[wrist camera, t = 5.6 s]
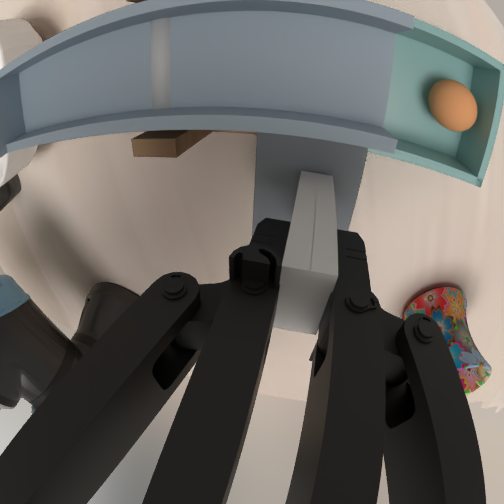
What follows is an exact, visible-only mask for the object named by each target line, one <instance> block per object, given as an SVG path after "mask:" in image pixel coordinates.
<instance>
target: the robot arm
mask: <svg viewBox="0 0 504 504" xmlns="http://www.w3.org/2000/svg"><path fill="white" fill-rule="evenodd" d="M365 253H366V250H365V244H364V241H363V240H362V238H361V237H360V236H359V234H358V233H355V232H350V231H345V230H339V229H337V222H336V206H335V192H334V181H333V176H330V175H325V174H319V173H313V172H307V171H301V174H300V180H299V185H298V190H297V195H296V200H295V205H294V210H293V215H292V220H291V222H289V221H283V220H277V219H271V218H265V219H263V220H262V221H261V222H260V223H258V224H257V226H256V229H255V232H254V235H253V237H252V239H251V242H250V244H249V245H247V246H242V247H240V248H238V249H236V250H234V251H233V252H232V254H231V255H230V256H229V275H230V279H229V280H227V281H225V282H222V283H215V284H198V282H197V280H196V279H195V278H194V277H193V276H191V275H190V274H187V273H183V272H172V273H169V274H166V275H163V276H162V277H160V278H159V279H157V280H156V281H155V282H154V283H153V284H152V285H151V286H150V287H149V288H148V289H147V290H146V291H145V292H144V293H143V294H142V295H141V296H140V297H138V296H137V295H135V294H134V293H132V292H130V291H128V290H126V289H124V288H122V287H120V286H117V285H114V284H110V283H99V284H97V285H95V286H94V287H93V289H92V290H91V291H90V293H89V294H88V296H87V298H86V301H85V306H84V309H83V311H82V315H81V318H80V322H79V325H78V329H77V331H76V333H75V334H74V336H73V337H72V339H71V340H69V338H67V337H66V336H65V334H63V332H61V331H60V330H59V329H58V328H57V327H56V326H55V324H53V322H52V321H51V320H50V319H49V318H48V317H47V316H46V315H45V314H44V313H43V312H42V311H41V310H40V308H39V307H38V306H37V305H36V304H35V303H34V302H33V301H32V299H31V298H30V296H29V294H27V293H25V292H24V291H23V289H22V288H21V287H20V286H19V285H18V284H17V283H16V281H15V280H14V279H13V278H12V277H11V276H9V275H0V409H1V408H5V409H13V408H14V407H15V406H16V405H17V403H18V402H19V400H20V398H24V399H25V400H27V401H28V402H29V403H31V404H32V415H31V417H30V418H29V419H28V420H27V422H26V423H25V424H24V425H23V427H22V428H21V429H20V431H19V432H18V433H17V434H16V436H15V437H14V438H13V440H12V441H11V442H10V444H9V445H8V446H7V448H6V449H5V450H4V452H3V453H2V454H1V456H0V504H87V503H88V501H89V500H90V499H91V498H92V497H93V495H94V494H95V493H96V492H97V490H98V489H99V488H100V487H101V486H102V484H103V483H104V482H105V481H106V479H107V478H108V477H109V475H110V474H111V473H112V472H113V470H114V469H115V468H116V467H117V465H118V464H119V463H120V462H121V460H122V459H123V458H124V457H125V455H126V454H127V453H128V451H129V450H130V449H131V448H132V446H133V445H134V444H135V442H136V441H137V440H138V439H139V437H140V436H141V435H142V433H143V432H144V431H145V429H146V428H147V427H148V426H149V424H150V423H151V422H152V420H153V419H154V417H155V416H156V415H157V414H158V412H159V411H160V410H161V408H162V407H163V406H164V404H165V403H166V402H167V400H168V399H169V398H170V396H171V395H172V394H173V392H174V391H175V390H176V388H177V387H178V386H179V384H180V383H181V382H182V380H183V379H184V378H185V376H186V375H187V374H188V372H189V371H190V370H191V368H192V367H193V366H194V364H195V363H196V365H195V368H194V370H193V373H192V375H191V378H190V380H189V383H188V385H187V388H186V390H185V393H184V395H183V398H182V401H181V403H180V406H179V408H178V411H177V413H176V416H175V419H174V421H173V424H172V426H171V429H170V432H169V434H168V437H167V439H166V442H165V444H164V447H163V450H162V452H161V455H160V458H159V460H158V463H157V465H156V468H155V471H154V473H153V476H152V479H151V482H150V484H149V487H148V489H147V492H146V495H145V497H144V500H143V503H142V504H226V502H227V499H228V496H229V493H230V489H231V486H232V483H233V479H234V476H235V473H236V469H237V466H238V462H239V459H240V455H241V452H242V448H243V445H244V441H245V438H246V434H247V430H248V426H249V423H250V419H251V415H252V412H253V408H254V404H255V400H256V396H257V392H258V388H259V384H260V380H261V376H262V372H263V368H264V364H265V360H266V355H267V351H268V347H269V342H270V337H271V332H272V327H275V328H280V329H286V330H291V331H297V332H303V333H309V334H315V335H316V334H317V331H318V329H319V334H318V340H317V343H316V345H315V347H314V349H313V352H312V354H311V356H310V359H309V361H312V360H313V361H312V369H311V377H310V384H309V390H308V397H307V403H306V409H305V416H304V421H303V427H302V432H301V438H300V443H299V448H298V453H297V457H296V462H295V466H294V471H293V475H292V480H291V484H290V488H289V492H288V496H287V500H286V504H376V503H377V497H378V491H379V484H380V477H381V469H382V458H383V455H384V461H385V469H386V476H387V484H388V494H389V504H486V495H485V483H484V475H483V468H482V461H481V456H480V450H479V445H478V440H477V436H476V431H475V427H474V423H473V419H472V415H471V412H470V408H469V405H468V401H467V398H466V395H465V391H464V388H463V385H462V382H461V379H460V376H459V374H458V371H457V368H456V365H455V363H454V360H453V357H452V355H451V352H450V350H449V347H448V345H447V343H446V340H445V338H444V335H443V333H442V331H441V329H440V327H439V326H438V324H437V322H436V321H434V320H433V319H432V318H431V317H429V316H427V315H425V314H422V313H414V314H412V315H409V317H408V318H407V319H406V320H403V319H401V318H398V317H396V316H394V315H392V314H390V313H388V312H386V311H384V310H383V309H382V308H381V307H380V304H379V301H378V299H377V297H376V296H375V295H374V294H373V293H372V292H371V287H370V279H369V271H368V264H367V257H366V254H365ZM196 361H197V362H196Z"/></svg>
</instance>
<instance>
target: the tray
mask: <svg viewBox="0 0 504 504" xmlns="http://www.w3.org/2000/svg"><path fill="white" fill-rule="evenodd" d="M444 79H451V80H455V81H458V82H460V83H462V84H463V85H464V86H466V87H467V88H468V89H469V90H470V92H471V93H472V95H473V96H474V98H475V101H476V104H477V118H476V121H475V123H474V124H473V125H472V127H470V128H469V129H467V130H465V131H461V132H455V131H451V130H448V129H446V128H445V127H443V126H442V125H440V124H439V123H438V122H437V120H436V119H435V118H434V116H433V115H432V113H431V110H430V107H429V101H428V98H429V92H430V90H431V88H432V87H433V85H434V84H435V83H437V82H438V81H441V80H444ZM503 100H504V64H502V63H501V62H499V61H498V60H496V59H495V58H493V57H492V56H490V55H488V54H487V53H485V52H484V51H482V50H480V49H478V48H477V47H475V46H473V45H471V44H470V43H468V42H466V41H464V40H462V39H460V38H458V37H456V36H454V35H452V34H450V33H448V32H446V31H444V30H442V29H439V28H437V27H435V26H432V25H430V24H428V23H425V22H423V21H420V20H417V19H415V18H414V29H413V30H409V31H404V32H400V33H396V34H395V45H394V56H393V66H392V74H391V82H390V89H389V96H388V102H387V108H386V114H385V119H384V125H383V128H384V129H385V130H386V131H388V132H389V133H390V134H391V135H393V136H394V137H395V138H396V139H397V140H398V141H397V146H396V150H395V154H392V153H388V152H384V151H379V150H375V149H370V148H368V152H370V153H374V154H378V155H382V156H386V157H390V158H394V159H397V160H401V161H405V162H408V163H412V164H415V165H418V166H422V167H425V168H428V169H431V170H434V171H437V172H440V173H443V174H446V175H449V176H452V177H455V178H457V179H460V180H463V181H465V182H468V183H470V184H473V185H475V186H478V187H481V185H482V182H483V179H484V176H485V173H486V170H487V167H488V164H489V160H490V157H491V154H492V150H493V147H494V143H495V139H496V135H497V131H498V126H499V122H500V117H501V112H502V106H503Z"/></svg>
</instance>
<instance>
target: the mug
mask: <svg viewBox="0 0 504 504" xmlns="http://www.w3.org/2000/svg"><path fill="white" fill-rule="evenodd" d="M466 307H467V300H466V296H465V295H464V294H463V292H462V291H460V290H459V289H456V288H453V287H441V288H436V289H433V290H430V291H428V292H426V293H424V294H422V295H420V296H419V297H417V298H416V299H415V300H414V301H413V302H411V304H410V305H409V306H408V307H407V309H406V310H405V312H404V314H403V318H402V319H403V320H406V319H407V318H408V317H409V315H412V314H414V313H422V314H425V315H427V316H429V317H431V318H432V319H433V320H434V321H436V322H437V324H438V326H439V327H440V329H441V331H442V333H443V335H444V338H445V340H446V343H447V345H448V347H449V350H450V352H451V355H452V357H453V360H454V363H455V365H456V368H457V371H458V374H459V376H460V379H461V382H462V385H463V388H464V391H465V395H468V394H470V393H471V392H473V391H475V390H476V389H478V388H479V387H480V386H481V385H483V384H484V383H485V382H486V381H487V379H488V378H489V376H490V374H491V366H490V365H489V364H488V363H487V361H486V360H485V359H484V358H483V356H482V355H481V354H480V352H479V351H478V349H477V347H476V346H475V344H474V342H473V339H472V337H471V335H470V332H469V328H468V324H467V319H466Z"/></svg>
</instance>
